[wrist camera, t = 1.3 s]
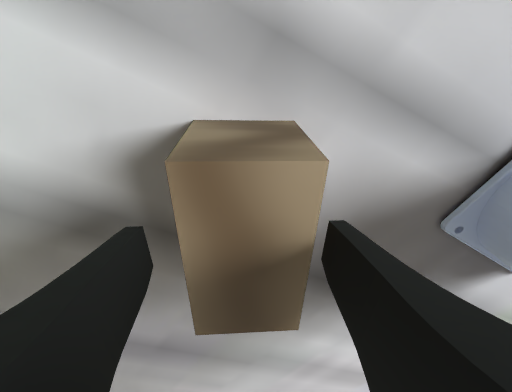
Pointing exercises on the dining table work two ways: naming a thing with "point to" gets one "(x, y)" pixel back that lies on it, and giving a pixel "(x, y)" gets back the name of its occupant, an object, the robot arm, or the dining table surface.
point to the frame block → (246, 221)
